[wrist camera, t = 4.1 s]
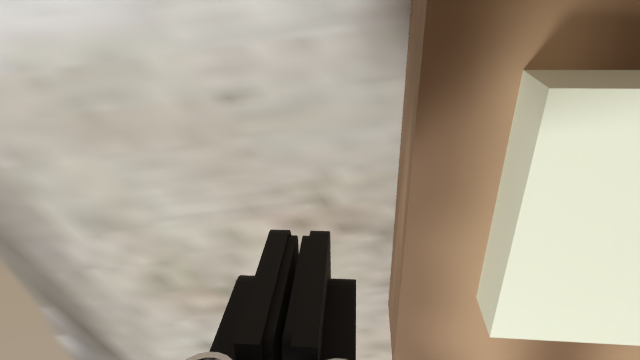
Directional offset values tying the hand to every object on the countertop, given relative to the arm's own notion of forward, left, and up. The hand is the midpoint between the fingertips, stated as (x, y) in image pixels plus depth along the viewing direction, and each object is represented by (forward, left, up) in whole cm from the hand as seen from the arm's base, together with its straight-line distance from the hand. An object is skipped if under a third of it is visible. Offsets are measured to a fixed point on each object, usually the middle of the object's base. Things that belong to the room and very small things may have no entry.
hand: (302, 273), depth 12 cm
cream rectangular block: (-9, 0, -4) cm, 10 cm away
